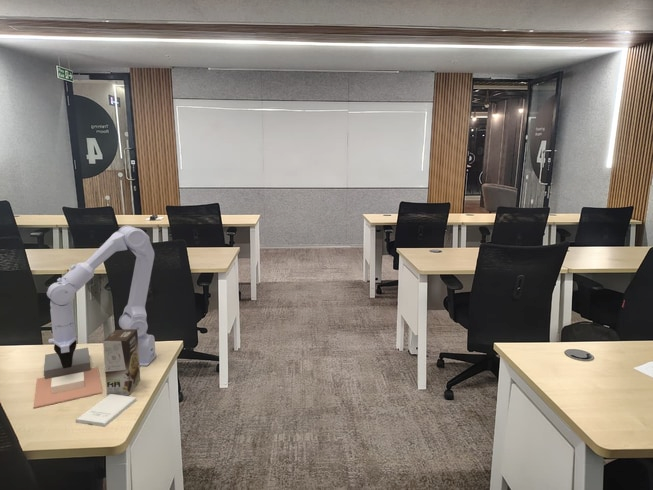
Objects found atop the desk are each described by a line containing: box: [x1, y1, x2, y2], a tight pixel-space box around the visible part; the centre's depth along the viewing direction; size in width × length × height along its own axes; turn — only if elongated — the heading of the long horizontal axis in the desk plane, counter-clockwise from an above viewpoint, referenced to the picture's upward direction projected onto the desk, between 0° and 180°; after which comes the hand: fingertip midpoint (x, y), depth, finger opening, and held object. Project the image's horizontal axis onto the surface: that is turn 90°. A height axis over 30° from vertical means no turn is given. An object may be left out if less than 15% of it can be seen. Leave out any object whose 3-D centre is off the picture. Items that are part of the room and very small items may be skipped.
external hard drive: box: [75, 394, 137, 428], centre depth 113 cm, size 2×8×12 cm
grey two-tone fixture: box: [43, 347, 92, 379], centre depth 137 cm, size 13×12×3 cm
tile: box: [51, 372, 85, 394], centre depth 124 cm, size 6×8×2 cm
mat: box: [32, 366, 103, 409], centre depth 125 cm, size 18×16×1 cm
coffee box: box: [102, 329, 141, 397], centre depth 123 cm, size 9×6×16 cm
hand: (67, 366), depth 129 cm, fingers closed
